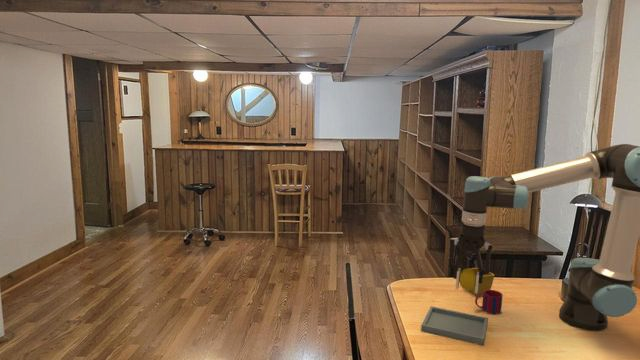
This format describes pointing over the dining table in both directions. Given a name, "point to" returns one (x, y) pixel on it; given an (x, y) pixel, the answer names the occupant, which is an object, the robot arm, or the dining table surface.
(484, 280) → the flower pot
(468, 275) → the lemon
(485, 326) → the tray
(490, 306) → the mug
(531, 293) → the dining table surface
